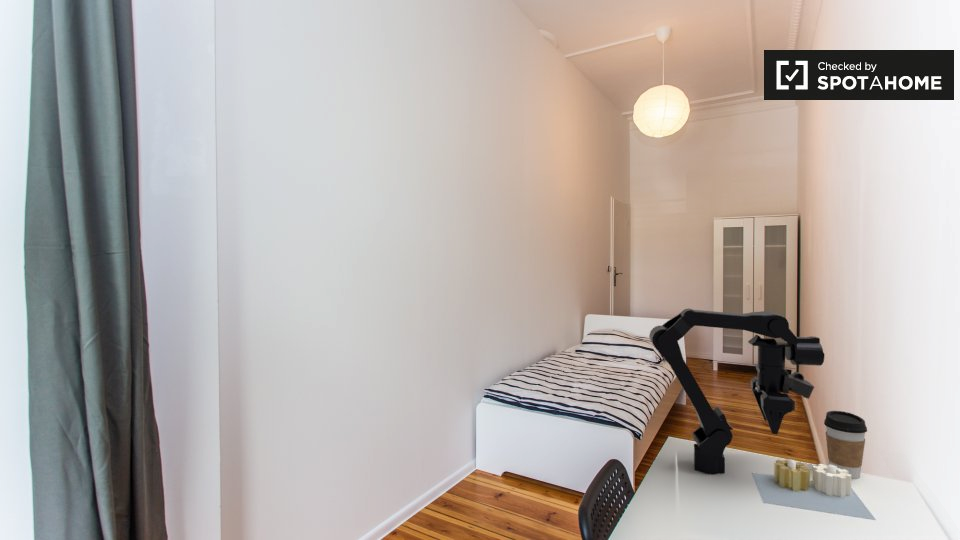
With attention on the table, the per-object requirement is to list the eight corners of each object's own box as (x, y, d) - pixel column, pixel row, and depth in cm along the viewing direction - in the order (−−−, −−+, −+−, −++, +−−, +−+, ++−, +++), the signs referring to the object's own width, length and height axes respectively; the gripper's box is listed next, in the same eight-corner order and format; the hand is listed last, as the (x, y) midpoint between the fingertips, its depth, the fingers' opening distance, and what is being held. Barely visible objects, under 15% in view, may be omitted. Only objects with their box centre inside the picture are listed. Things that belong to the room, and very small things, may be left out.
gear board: (763, 506, 104) (763, 477, 104) (751, 475, 118) (752, 450, 118) (876, 523, 97) (876, 493, 97) (849, 489, 111) (850, 462, 111)
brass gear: (813, 493, 108) (814, 474, 108) (777, 488, 110) (778, 469, 110) (805, 479, 114) (805, 461, 114) (771, 475, 117) (771, 457, 117)
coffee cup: (851, 469, 121) (852, 410, 121) (875, 485, 113) (876, 422, 112) (815, 468, 122) (816, 410, 121) (837, 484, 114) (838, 422, 113)
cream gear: (827, 497, 106) (828, 478, 106) (805, 482, 113) (805, 464, 113) (858, 497, 106) (859, 477, 106) (834, 481, 113) (835, 463, 113)
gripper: (822, 376, 105) (821, 446, 105) (800, 357, 122) (799, 418, 123) (764, 372, 109) (763, 439, 109) (750, 355, 126) (750, 413, 127)
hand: (770, 427), depth 117 cm, fingers open, 9 cm apart
